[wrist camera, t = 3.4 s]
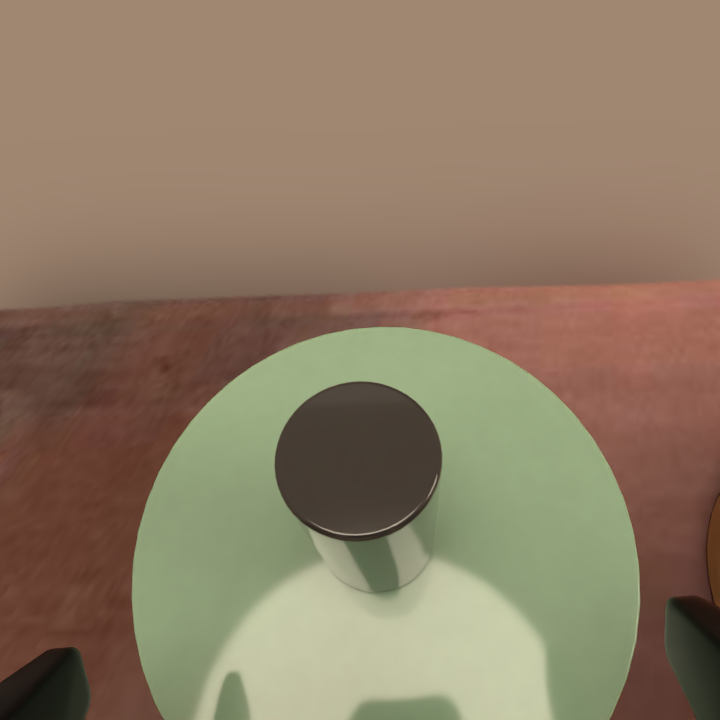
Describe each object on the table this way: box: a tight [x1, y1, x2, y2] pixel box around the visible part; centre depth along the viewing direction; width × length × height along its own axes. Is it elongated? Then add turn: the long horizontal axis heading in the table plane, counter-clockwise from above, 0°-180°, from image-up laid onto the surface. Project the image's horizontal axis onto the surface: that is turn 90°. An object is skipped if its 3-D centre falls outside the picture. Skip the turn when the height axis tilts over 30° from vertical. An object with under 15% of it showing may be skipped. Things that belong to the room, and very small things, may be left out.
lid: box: [132, 327, 640, 720], centre depth 12 cm, size 12×12×6 cm
